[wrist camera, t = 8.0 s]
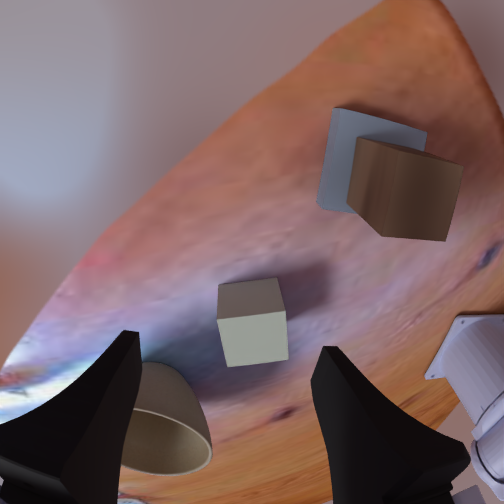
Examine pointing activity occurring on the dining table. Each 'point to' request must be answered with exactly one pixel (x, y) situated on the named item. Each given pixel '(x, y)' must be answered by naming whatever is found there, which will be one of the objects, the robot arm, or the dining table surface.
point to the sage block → (252, 322)
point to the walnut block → (403, 190)
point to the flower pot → (166, 426)
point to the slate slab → (343, 147)
